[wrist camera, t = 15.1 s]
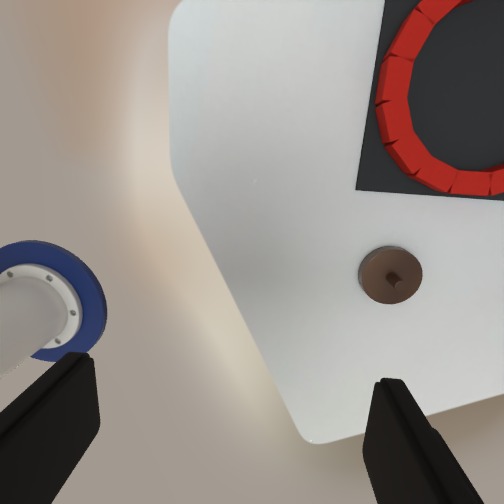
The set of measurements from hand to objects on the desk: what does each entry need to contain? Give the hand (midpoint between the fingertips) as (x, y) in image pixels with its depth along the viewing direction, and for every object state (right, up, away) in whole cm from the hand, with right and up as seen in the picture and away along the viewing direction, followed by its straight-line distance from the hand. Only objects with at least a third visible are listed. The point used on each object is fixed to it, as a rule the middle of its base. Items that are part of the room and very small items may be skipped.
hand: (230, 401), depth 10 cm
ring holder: (+16, +3, +24) cm, 29 cm away
